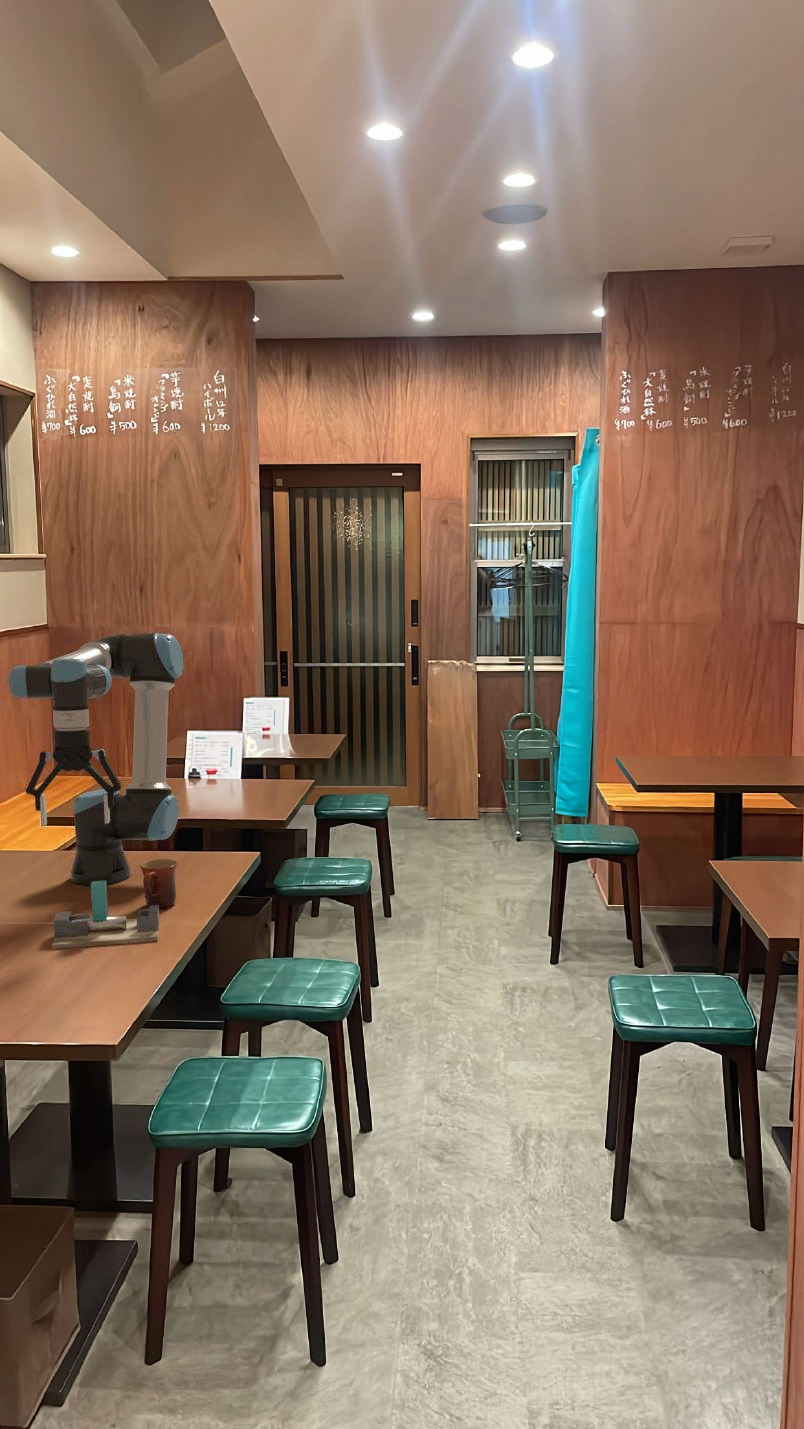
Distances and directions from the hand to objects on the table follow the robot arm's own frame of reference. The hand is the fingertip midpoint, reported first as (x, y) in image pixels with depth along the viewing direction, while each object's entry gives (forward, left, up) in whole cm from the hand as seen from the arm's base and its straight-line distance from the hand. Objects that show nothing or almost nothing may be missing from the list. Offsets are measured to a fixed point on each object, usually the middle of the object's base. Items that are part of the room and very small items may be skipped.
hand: (75, 823), depth 238 cm
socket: (+5, +15, -23) cm, 28 cm away
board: (+5, +6, -24) cm, 26 cm away
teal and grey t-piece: (+5, +3, -23) cm, 24 cm away
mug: (-13, +16, -25) cm, 32 cm away
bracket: (+5, -1, -23) cm, 24 cm away
